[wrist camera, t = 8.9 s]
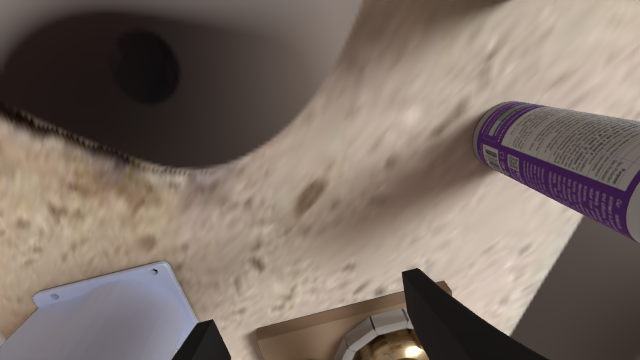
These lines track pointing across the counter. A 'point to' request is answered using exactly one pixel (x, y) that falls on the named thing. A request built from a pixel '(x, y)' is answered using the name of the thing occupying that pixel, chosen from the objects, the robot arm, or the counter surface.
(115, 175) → the counter surface
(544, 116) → the container
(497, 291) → the counter surface
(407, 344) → the planet gear
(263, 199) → the counter surface
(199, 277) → the counter surface
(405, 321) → the carrier board
